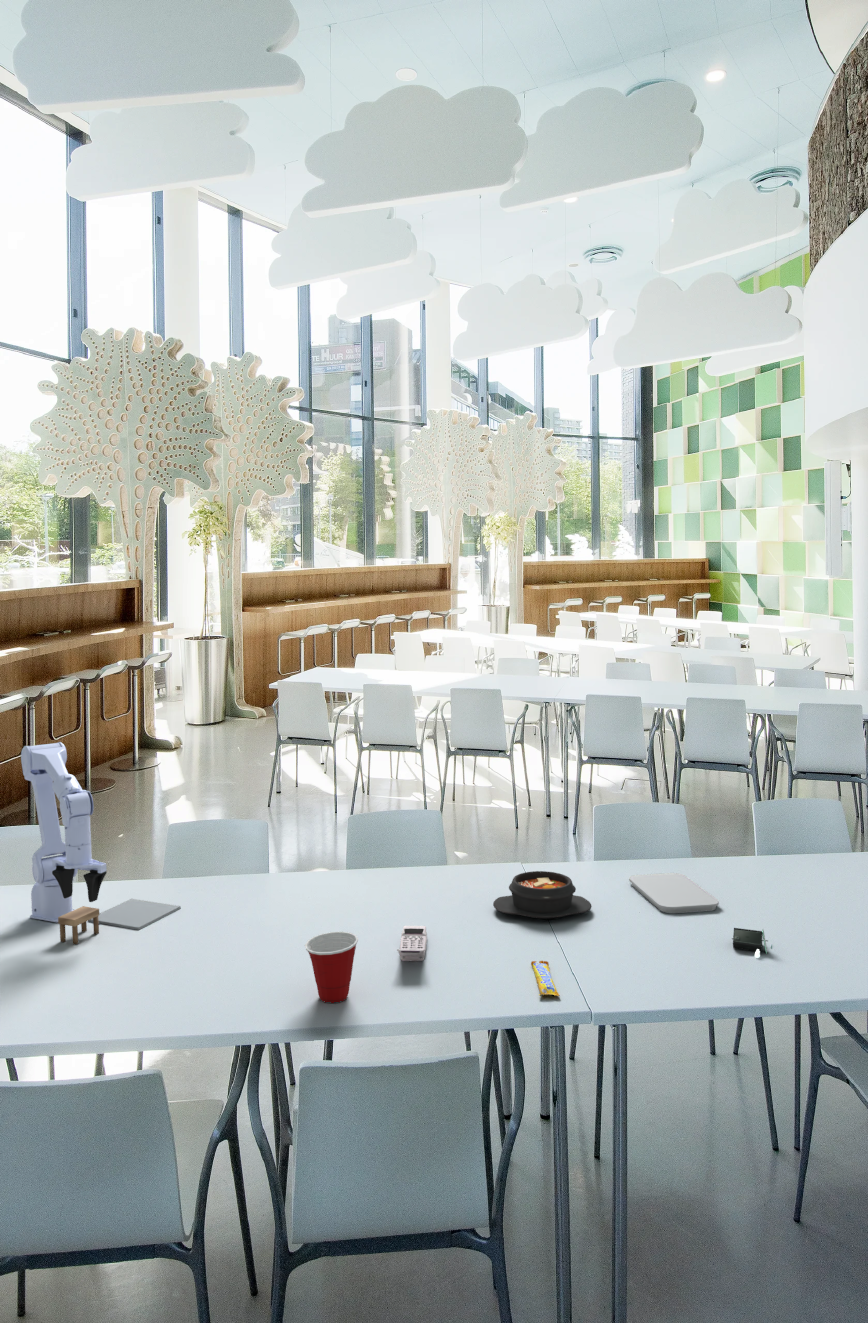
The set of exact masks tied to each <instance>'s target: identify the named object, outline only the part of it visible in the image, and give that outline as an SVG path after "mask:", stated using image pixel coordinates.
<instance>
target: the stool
mask: <svg viewBox="0 0 868 1323" xmlns="http://www.w3.org/2000/svg"><path fill="white" fill-rule="evenodd" d="M99 913H100V908H97V907H91V906H85V905H84V906H83V905H82V906H79V908H76V909H74V910H73V911H71V912H69V913H67V914H64V915H62V916H60V917H58V922H57V923H58V925H59V938H60V939H59V940H60V943H65V942H66V939H67V938H66V936H67V935H66V926H69V927H71V932H72V933H71V934H72V937H71V938H72V945H78V944H79V933H78V932H79V929H78V928H79V925H80V928H81V933H86V932H87V931H88V928H87V926H88V925H87V922H89V921H88V920H90V919H92V918H93V922H92V924H93V927H92V928H93V934H94V935H98V934H99V935H100V925H99V924H100V923H99V920H98V916H99Z"/></svg>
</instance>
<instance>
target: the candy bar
mask: <svg viewBox="0 0 868 1323" xmlns="http://www.w3.org/2000/svg"><path fill="white" fill-rule="evenodd" d="M530 966H531V967H532V970H533V972H534V973H533V974H534V978H535V981H536V984H538V985H537V988H538V991H539V994H538V996H541V995H543V996H551V995H554V997H556V996H557V997H561V995H560V994H559V992H558V990H557V987H556V985H555V983H554V980H553V977H552V974H551V971H550V967H549V966H550V964H549V961H547V960H539V963H538V962H537V961H535V960H534V961H531V962H530Z"/></svg>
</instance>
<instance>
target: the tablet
mask: <svg viewBox="0 0 868 1323" xmlns="http://www.w3.org/2000/svg"><path fill="white" fill-rule="evenodd" d="M628 882H629V883H631V886H632V888H634V889H635V890H636V891H638V893H639V894H641V895H642V896H643V897H644V898H645V899H647V901H648V902H650V903H651V904H652V905H653V906H654V907H656V908H657V909H658V910H659V911H660V912H662V913H667V914H678V913H679V914H682V913H694V912H695V913H697V912H710V911H715V910H716V909H717V906H719V904H720V903H719V902H720V900H719V899H718V898H716V897H715V896H713V895H712V894H711V893H710V892H708V891H706V890H705V889H704V888H703V887H701V885H699V884H697V883H696V882H695V881H694V880H692V879H691V878H689V877H688V876H686V875H684V874H682V873H675V872H664V873H650V874H649V873H647V874H634V875H630V876H629V877H628Z"/></svg>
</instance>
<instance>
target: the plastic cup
mask: <svg viewBox="0 0 868 1323" xmlns="http://www.w3.org/2000/svg"><path fill="white" fill-rule="evenodd" d="M358 941H359V937H358V936H357V934H354V933H352V932H348V931H347V932H346V931H330V932H325V933H321V934H318V935H315V936H313V937H311V938H310V939H308V940H307V941H306V942H305V944H304V947H305V950H306V952H307V953H308V955H309V958H310V961H311V965H312V970H313V971H312V972H313V974H314V980H315V984H316V986H317V987H316V988H317V993H318V994H317V995H318V997H319V1000H320V999H321V1000H322V1002H323V1001H325V1002H324V1003H326V1002H331V1003H330V1004H335V1003H334V1002H339V1003H341V1002H340V1001H342V1002H344V1001H345V1000H347V999H346V998H348V997H347V996H349V993H350V987H351V986H350V985H351V981H352V976H353V975H352V974H353V973H352V972H353V968H354V965H353V964H354V958H355V955H356V948H357V944H358ZM344 999H345V1000H344ZM321 1000H320V1001H321Z"/></svg>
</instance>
